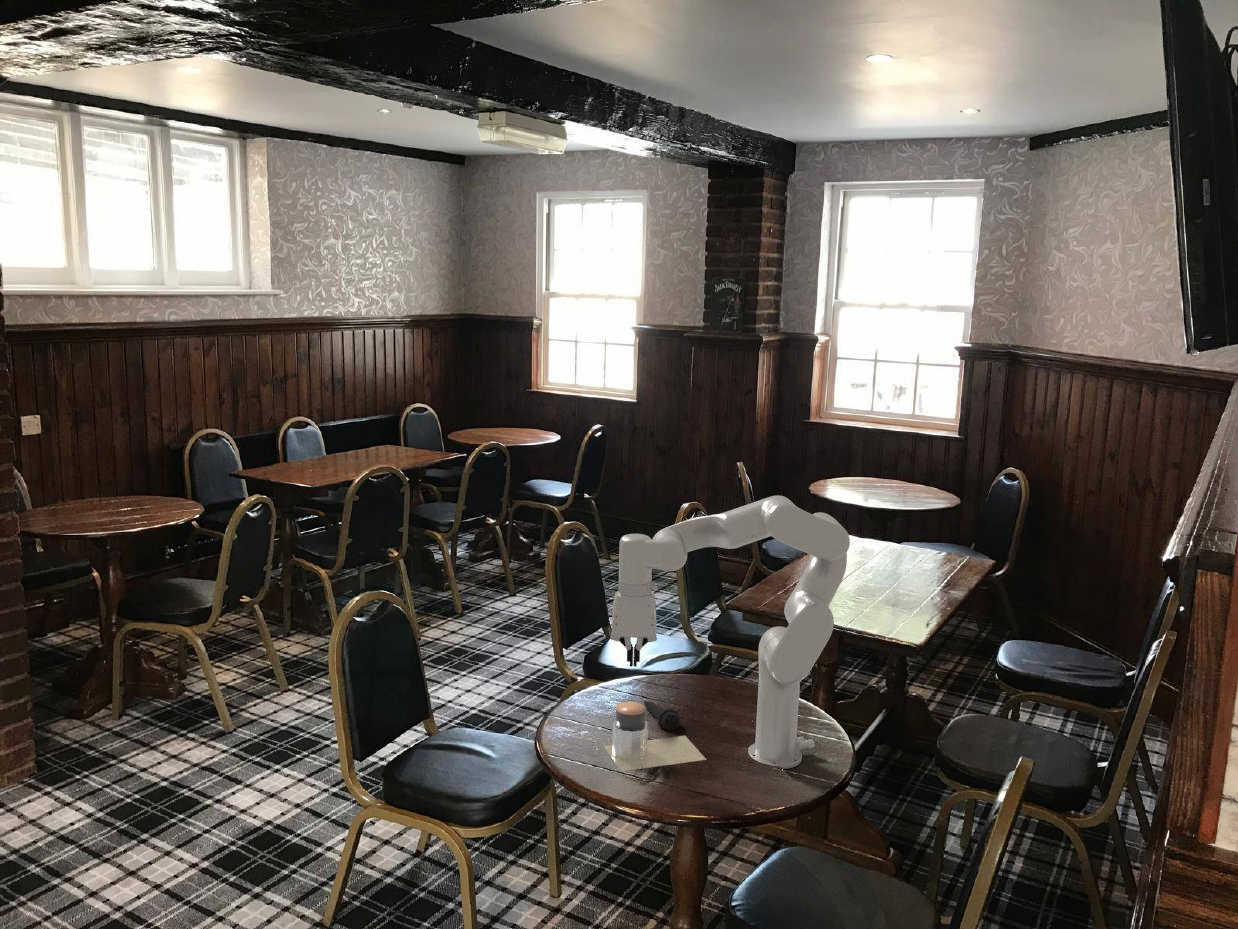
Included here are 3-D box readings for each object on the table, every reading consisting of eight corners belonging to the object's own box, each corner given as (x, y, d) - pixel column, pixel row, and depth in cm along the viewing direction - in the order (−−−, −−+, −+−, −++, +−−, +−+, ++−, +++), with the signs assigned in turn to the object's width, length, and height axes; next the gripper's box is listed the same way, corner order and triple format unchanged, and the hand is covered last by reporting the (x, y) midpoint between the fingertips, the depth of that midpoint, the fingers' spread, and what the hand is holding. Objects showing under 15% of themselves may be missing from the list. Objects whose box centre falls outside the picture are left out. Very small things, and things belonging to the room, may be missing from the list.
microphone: (639, 715, 263) (666, 739, 244) (632, 696, 262) (659, 718, 243) (657, 707, 264) (686, 730, 245) (650, 688, 263) (679, 709, 244)
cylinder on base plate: (684, 739, 242) (686, 708, 241) (706, 763, 230) (707, 731, 229) (603, 750, 235) (604, 718, 234) (621, 775, 223) (622, 742, 222)
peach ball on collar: (638, 728, 236) (639, 700, 235) (648, 740, 230) (649, 712, 229) (611, 731, 234) (612, 703, 233) (620, 744, 228) (621, 715, 226)
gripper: (667, 584, 229) (665, 659, 232) (602, 582, 230) (601, 657, 233) (668, 594, 222) (665, 671, 225) (601, 592, 222) (600, 669, 225)
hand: (633, 664), depth 229 cm, fingers closed
